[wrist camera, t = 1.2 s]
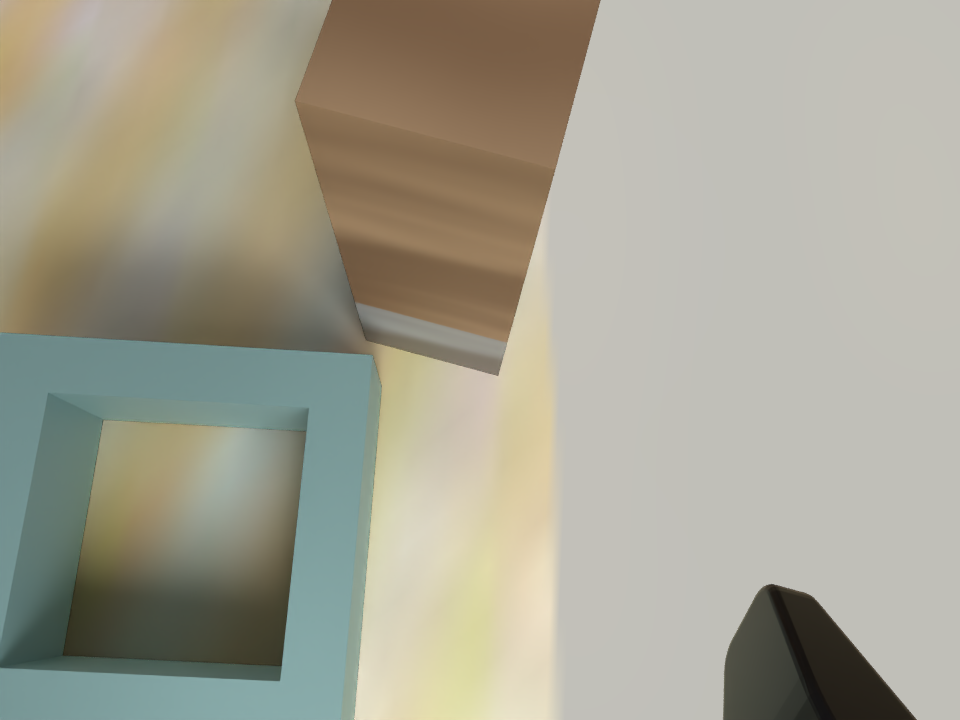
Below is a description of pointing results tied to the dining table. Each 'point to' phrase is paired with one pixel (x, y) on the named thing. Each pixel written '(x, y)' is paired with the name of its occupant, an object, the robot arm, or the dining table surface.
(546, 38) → the square wooden post
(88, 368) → the square teal collar
